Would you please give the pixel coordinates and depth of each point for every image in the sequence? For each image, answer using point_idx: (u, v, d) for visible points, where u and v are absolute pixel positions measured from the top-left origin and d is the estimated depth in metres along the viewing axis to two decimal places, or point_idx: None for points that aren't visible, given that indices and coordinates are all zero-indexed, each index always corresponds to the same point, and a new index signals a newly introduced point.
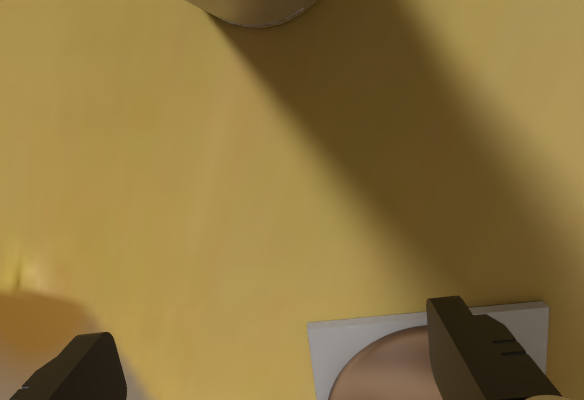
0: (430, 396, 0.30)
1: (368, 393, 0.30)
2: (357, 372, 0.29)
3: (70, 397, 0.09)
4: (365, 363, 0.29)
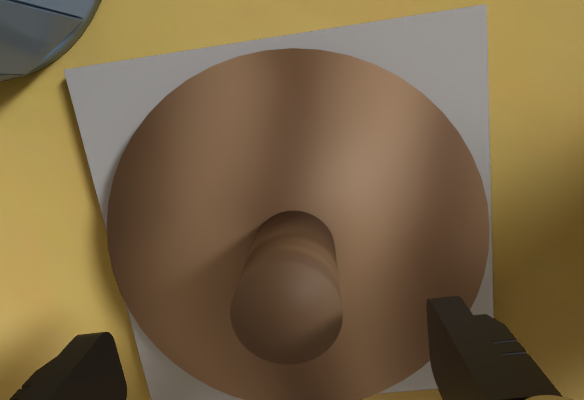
0: (363, 236, 0.17)
1: (368, 128, 0.16)
2: (418, 103, 0.15)
3: (69, 398, 0.09)
4: (437, 117, 0.16)
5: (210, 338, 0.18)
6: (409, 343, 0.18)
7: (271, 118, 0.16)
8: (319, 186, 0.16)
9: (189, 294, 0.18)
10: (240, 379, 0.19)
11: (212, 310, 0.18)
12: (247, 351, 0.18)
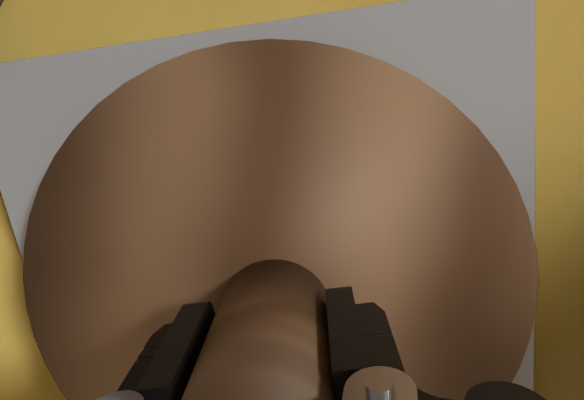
0: (367, 293, 0.13)
1: (375, 149, 0.11)
2: (444, 115, 0.11)
3: (195, 356, 0.10)
4: (470, 134, 0.11)
5: None
6: None
7: (242, 136, 0.12)
8: (309, 227, 0.12)
9: None
10: None
11: None
12: None
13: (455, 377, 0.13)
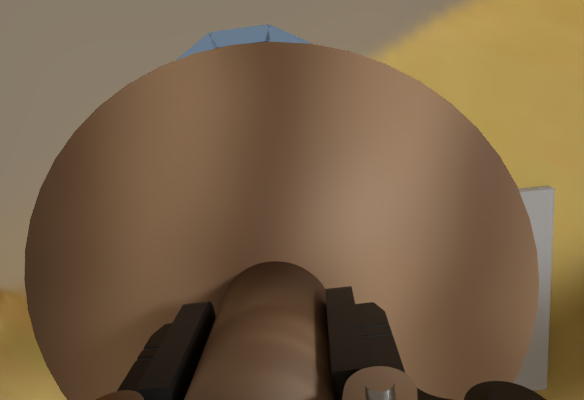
0: (369, 295, 0.13)
1: (376, 151, 0.11)
2: (445, 117, 0.11)
3: (195, 356, 0.10)
4: (470, 136, 0.11)
5: None
6: None
7: (243, 138, 0.12)
8: (310, 229, 0.12)
9: None
10: None
11: None
12: None
13: (456, 379, 0.13)
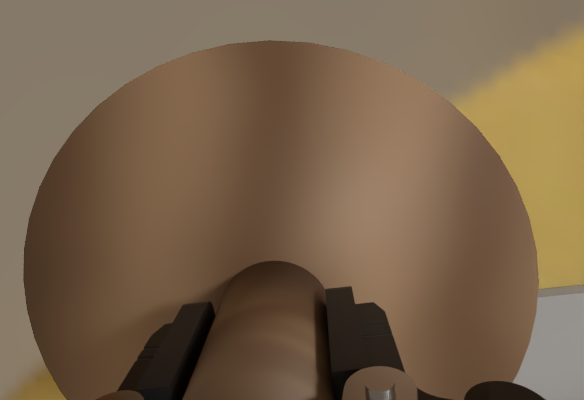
0: (368, 295, 0.13)
1: (375, 150, 0.11)
2: (444, 116, 0.11)
3: (195, 356, 0.10)
4: (470, 136, 0.11)
5: None
6: None
7: (242, 137, 0.12)
8: (309, 229, 0.12)
9: None
10: None
11: None
12: None
13: (455, 378, 0.13)
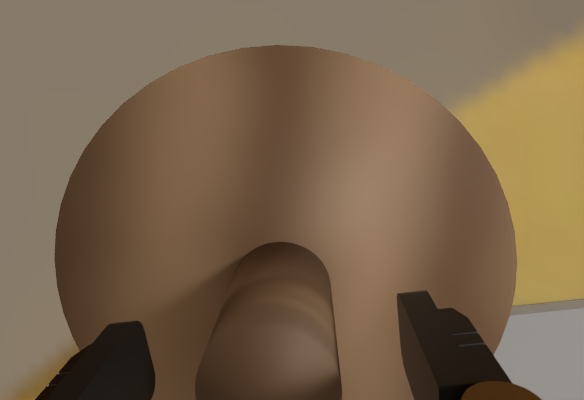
0: (364, 272, 0.14)
1: (370, 142, 0.13)
2: (431, 112, 0.13)
3: (108, 382, 0.09)
4: (454, 129, 0.13)
5: (182, 392, 0.15)
6: None
7: (252, 131, 0.13)
8: (311, 213, 0.14)
9: (156, 341, 0.15)
10: None
11: (184, 359, 0.15)
12: None
13: None
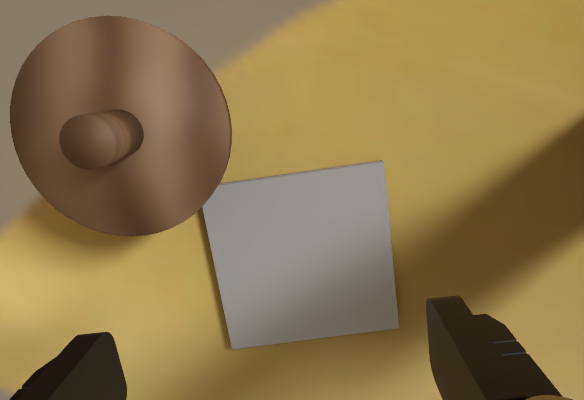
0: (158, 124, 0.30)
1: (152, 60, 0.29)
2: (177, 45, 0.28)
3: (70, 397, 0.09)
4: (189, 53, 0.29)
5: (77, 191, 0.31)
6: (193, 190, 0.31)
7: (99, 55, 0.29)
8: (130, 94, 0.29)
9: (62, 163, 0.31)
10: (97, 217, 0.32)
11: (76, 173, 0.31)
12: (99, 199, 0.31)
13: (201, 163, 0.30)
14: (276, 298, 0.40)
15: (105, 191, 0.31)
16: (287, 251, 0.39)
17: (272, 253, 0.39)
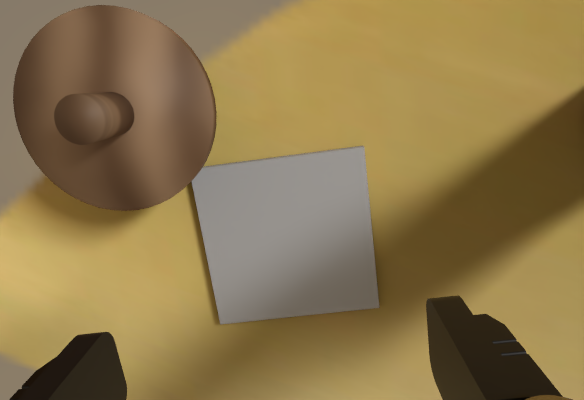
0: (147, 106, 0.32)
1: (142, 46, 0.31)
2: (165, 33, 0.31)
3: (69, 397, 0.09)
4: (176, 40, 0.31)
5: (73, 168, 0.34)
6: (180, 168, 0.33)
7: (93, 41, 0.31)
8: (122, 78, 0.32)
9: (60, 141, 0.33)
10: (92, 193, 0.34)
11: (73, 151, 0.33)
12: (94, 175, 0.34)
13: (187, 143, 0.33)
14: (262, 276, 0.42)
15: (99, 168, 0.34)
16: (272, 231, 0.41)
17: (258, 233, 0.41)
